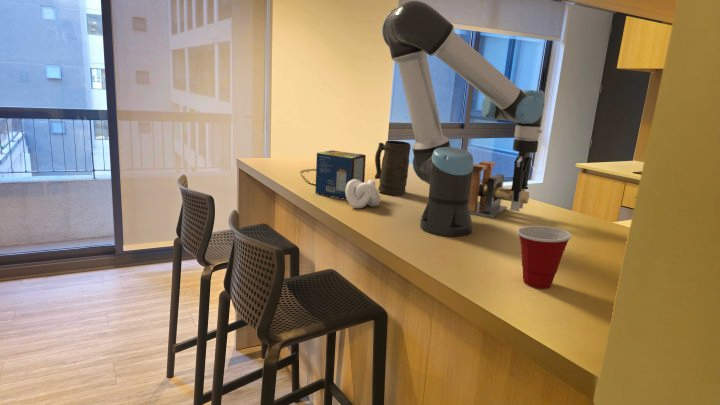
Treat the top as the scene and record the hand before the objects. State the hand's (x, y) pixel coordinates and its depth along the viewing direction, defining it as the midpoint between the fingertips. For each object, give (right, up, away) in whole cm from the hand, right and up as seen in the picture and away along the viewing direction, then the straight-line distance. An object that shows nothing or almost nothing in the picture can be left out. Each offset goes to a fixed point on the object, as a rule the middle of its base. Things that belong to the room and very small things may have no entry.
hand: (516, 209), depth 154 cm
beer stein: (-41, +6, +28) cm, 50 cm away
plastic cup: (-14, -16, -54) cm, 58 cm away
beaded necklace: (-68, +12, +47) cm, 83 cm away
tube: (-7, +4, +4) cm, 9 cm away
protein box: (-60, +5, +18) cm, 63 cm away
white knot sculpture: (-52, +1, +3) cm, 52 cm away
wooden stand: (-11, 0, +7) cm, 13 cm away
